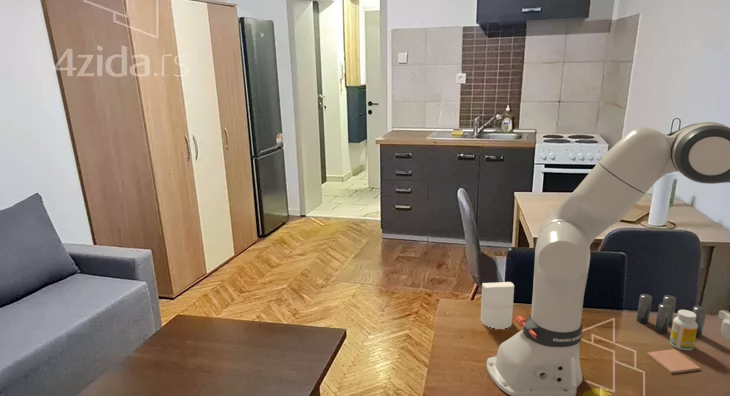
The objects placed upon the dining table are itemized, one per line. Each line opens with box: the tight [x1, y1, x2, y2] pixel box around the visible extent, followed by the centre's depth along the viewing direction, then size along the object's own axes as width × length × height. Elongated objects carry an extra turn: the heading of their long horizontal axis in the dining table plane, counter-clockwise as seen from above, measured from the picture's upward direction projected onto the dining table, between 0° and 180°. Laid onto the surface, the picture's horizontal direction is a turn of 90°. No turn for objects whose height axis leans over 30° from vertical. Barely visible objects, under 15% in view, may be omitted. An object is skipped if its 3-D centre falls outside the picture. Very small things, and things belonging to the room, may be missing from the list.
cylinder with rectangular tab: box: [480, 281, 515, 330], centre depth 135 cm, size 9×9×12 cm
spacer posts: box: [636, 293, 707, 338], centre depth 130 cm, size 12×12×8 cm
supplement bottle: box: [669, 309, 698, 351], centre depth 121 cm, size 5×5×10 cm
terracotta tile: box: [646, 348, 701, 374], centre depth 115 cm, size 8×8×1 cm
